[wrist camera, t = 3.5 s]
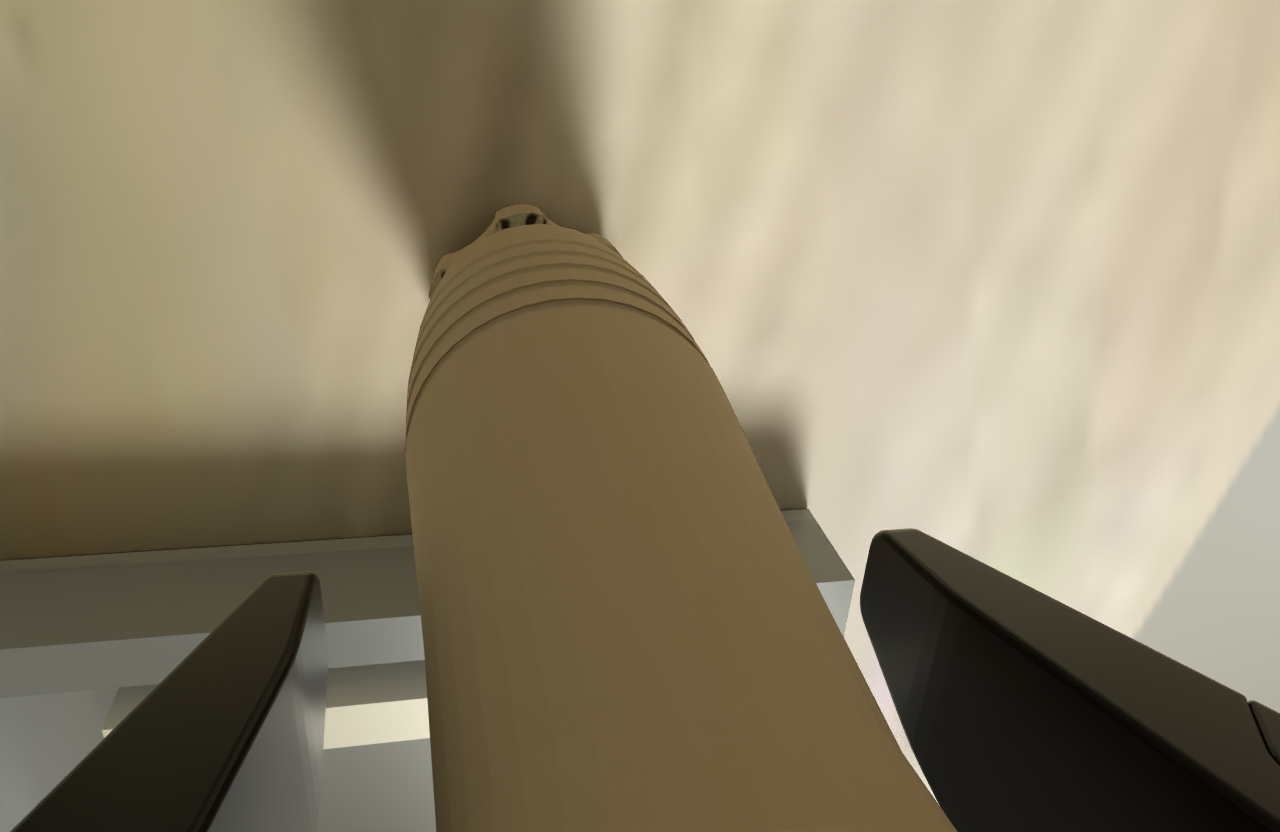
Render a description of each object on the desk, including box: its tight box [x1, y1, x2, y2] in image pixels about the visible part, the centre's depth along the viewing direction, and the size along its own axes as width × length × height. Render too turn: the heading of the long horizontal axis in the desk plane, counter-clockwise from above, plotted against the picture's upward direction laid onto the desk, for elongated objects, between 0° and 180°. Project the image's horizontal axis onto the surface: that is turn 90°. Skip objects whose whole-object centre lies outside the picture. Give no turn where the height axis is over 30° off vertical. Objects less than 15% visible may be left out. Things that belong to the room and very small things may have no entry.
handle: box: [405, 204, 957, 832], centre depth 10 cm, size 5×6×15 cm
